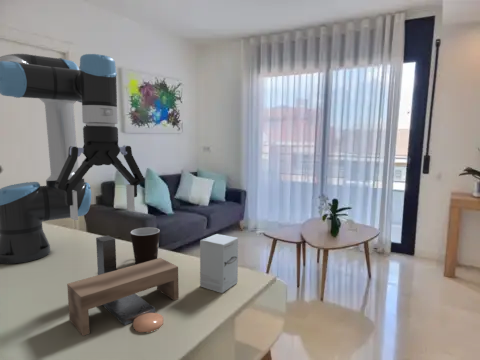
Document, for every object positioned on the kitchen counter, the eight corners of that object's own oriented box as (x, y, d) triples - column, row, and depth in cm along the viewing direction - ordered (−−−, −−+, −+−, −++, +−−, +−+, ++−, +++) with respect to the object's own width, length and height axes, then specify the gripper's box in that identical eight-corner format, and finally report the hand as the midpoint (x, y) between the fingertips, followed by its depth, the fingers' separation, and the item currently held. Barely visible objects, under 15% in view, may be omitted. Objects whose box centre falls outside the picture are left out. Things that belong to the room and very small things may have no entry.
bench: (69, 319, 70) (67, 283, 69) (161, 287, 86) (160, 257, 85) (83, 336, 65) (81, 297, 64) (178, 298, 80) (178, 266, 79)
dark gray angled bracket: (90, 294, 82) (87, 239, 80) (118, 286, 86) (116, 233, 85) (124, 325, 68) (122, 259, 67) (155, 313, 73) (153, 251, 72)
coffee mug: (152, 269, 97) (151, 236, 96) (126, 266, 99) (124, 234, 98) (169, 255, 109) (168, 226, 108) (144, 253, 110) (143, 224, 109)
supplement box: (222, 294, 83) (222, 244, 81) (199, 286, 86) (198, 239, 85) (238, 283, 89) (239, 237, 87) (216, 276, 93) (216, 232, 91)
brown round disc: (127, 331, 67) (127, 325, 67) (144, 316, 73) (144, 310, 73) (153, 336, 65) (153, 330, 65) (168, 320, 71) (168, 315, 71)
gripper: (45, 123, 66) (51, 227, 69) (156, 126, 83) (158, 209, 86) (35, 123, 71) (41, 219, 74) (142, 126, 89) (143, 204, 92)
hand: (104, 214), depth 80 cm, fingers open, 13 cm apart
